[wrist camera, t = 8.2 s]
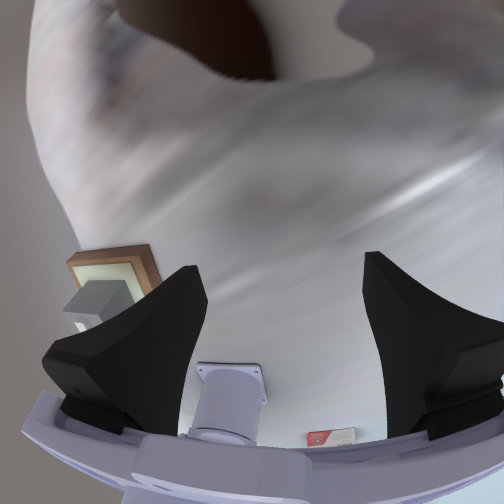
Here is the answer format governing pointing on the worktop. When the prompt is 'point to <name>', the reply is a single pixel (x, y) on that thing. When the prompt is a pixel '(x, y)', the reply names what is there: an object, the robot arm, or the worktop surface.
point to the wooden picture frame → (118, 268)
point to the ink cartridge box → (332, 438)
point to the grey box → (97, 303)
